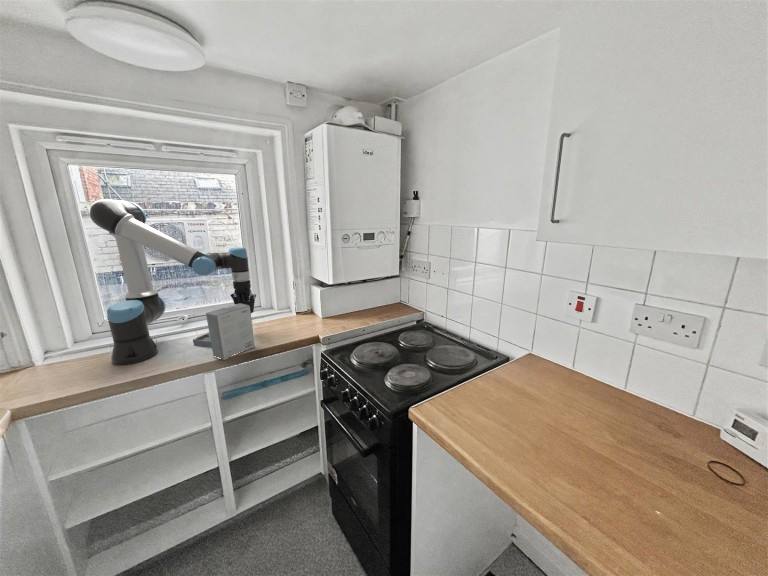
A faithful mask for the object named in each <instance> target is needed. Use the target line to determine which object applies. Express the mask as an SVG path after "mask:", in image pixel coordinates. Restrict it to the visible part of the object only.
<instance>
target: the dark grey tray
mask: <svg viewBox="0 0 768 576" xmlns="http://www.w3.org/2000/svg"><path fill="white" fill-rule="evenodd" d="M192 343H193V346H198V347H207V348H212V345H211V341H210V339H209V332H206V333H204V334H201V335H199V336H197V337H196V338H193V339H192Z"/></svg>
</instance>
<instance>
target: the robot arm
mask: <svg viewBox="0 0 768 576" xmlns="http://www.w3.org/2000/svg"><path fill="white" fill-rule="evenodd" d="M89 207H90V208H89V212H88V213H89V214H88V215H89V217H90V219H91V221H92V222H93V223H94V224H95V225H96V226H97V227H99V228H101V229H103V230H104V231H107V232H108V234H109V235H110V236H112V237H114V239H115V242H116V246H117V251H118V253H119V258H120V262H121V266H122V271H123V274H124V278H125V279H124V280H125V282H126V287H127V291H128V293H127V294H126V295H125V296H124V299H125V300H123V301H120V302H115V303H113V304H111V305H110V306H109V307H108V308H107V310H106V315H107V316H106V318H107V321H108V325H109V329H110V333H111V337H112V340H113V347H112V353H111V363H112V364H114V365H120V366H123V365H132V364H136V363H140V362H144V361H146V360H149V359H151V358H152V357H155V356H156V355H157V354H158V352H159V349H158V346H157V344H156V343H155V341H154V340H153V339H152V337H151V335H150V331H149V327H148V325H150V324H151V323H153V322H155V321H156V320H158V319H159V318H161V316H162V315H163V314H164V313H165V311H166V307H167V306H166V302H165V300H164V299H163V298H162V297H161V296H159V291H157V290H155V289H154V288H153V283H152V278H151V275H150V270H149V266H148V262H147V256H146V252H145V248H144V246H145V247H147V248H149V249H151V250H152V251H156V252H157V253H160V254H161V255H163V256H166V257H168V258H170V259H172V260H174V261H176V262H178V263H180V264H182V265H184V266H186V267H189V268H190V269H192V270H193V272H194V273H195V274H197V275H198V276H208V275H211V274H213V273H214V272H215V271H218V270H223V269H227V270H229V269H230V271H231V277H232V280H233V281H232V285H233V286H232V287H233V289H234V292H232V293H230V297H231V299H232V301H233V305H235V304H238V303H241V304H245V305H249V306H250V311H251V314H253V313H254V312H255V311H254V310H255V303H256V302H255V299H256V297H257V294H255V293H253V292H252V290H251V287H252V285H251V276H250V270H249V269H250V268H249V260H248V259H249V258H248V257H249V256H248V253H247V249H246V248H245V247H230V248H229V249H228V251H227V252H207V253H206V252H205V253H204V252H201V251H199V250H197V249H195V248H194V247H191V246H190V245H187V244H185V243H183V242H181V241H180V240H177V239H175V238H173V237H171V236H170V235H168V234H165V233H164V232H161V231H159V230H157V229H155V228H153V227H152V226H149V225H147V224H145V223H146V221H147V215H146V212H145V210H144V209H143V208H142V207H141V206H140V205H139V204H137V203H135V202H133V201H130V200H129V201H128V200H127V199H126V200H124V199H123V200H122V199H120V200H118V199H111V198H104V199H103V198H102V199H98V200H96V201H95V202H93V203H92V204H91V205H90V206H89Z"/></svg>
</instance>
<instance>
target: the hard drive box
mask: <svg viewBox="0 0 768 576" xmlns="http://www.w3.org/2000/svg"><path fill="white" fill-rule="evenodd" d="M205 316H206V322H207V329H208V333H209V334H210V340H211V345H212V347H211V351H212V356H216V357H219V358H221V359H222V360H221V361H225V360H229V359H230V358H229V357H231V356H232V355H234V354H237V353H239V352H242V351H245V350H247V351H249V350H248V349H250V348H252V349H254V348H256V344H255V343H256V342H255V336H254V328H253V320H252V313H251V311H250V306H249V305H245V304H241V303H238V304H232V305H229V306H225V307H221V308H218V309H214V310H211V311H208V312H205ZM253 347H254V348H253ZM250 350H251V349H250ZM245 352H246V351H245ZM242 353H243V352H242ZM237 355H238V354H237ZM231 358H232V357H231Z"/></svg>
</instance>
